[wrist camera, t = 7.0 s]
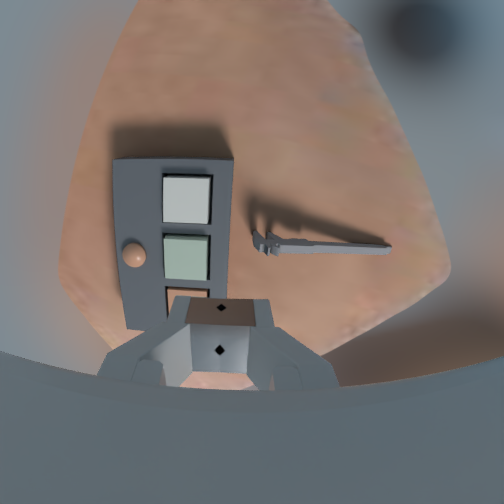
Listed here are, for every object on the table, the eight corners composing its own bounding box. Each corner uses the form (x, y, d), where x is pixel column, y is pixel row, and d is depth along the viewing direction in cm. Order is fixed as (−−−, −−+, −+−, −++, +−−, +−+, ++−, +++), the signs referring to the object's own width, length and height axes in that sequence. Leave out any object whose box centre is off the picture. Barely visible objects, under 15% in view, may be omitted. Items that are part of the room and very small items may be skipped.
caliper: (251, 237, 40) (254, 255, 34) (252, 229, 39) (256, 246, 34) (388, 252, 42) (409, 269, 36) (390, 245, 41) (411, 262, 35)
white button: (169, 174, 34) (163, 177, 31) (211, 175, 34) (208, 179, 31) (168, 215, 36) (163, 222, 33) (209, 216, 36) (207, 223, 33)
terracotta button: (171, 278, 40) (167, 289, 37) (208, 280, 40) (206, 291, 37) (173, 310, 42) (169, 322, 39) (208, 312, 42) (206, 324, 39)
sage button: (168, 230, 36) (163, 238, 34) (208, 232, 37) (206, 240, 34) (169, 267, 38) (165, 278, 35) (208, 270, 39) (206, 280, 36)
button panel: (124, 157, 35) (110, 160, 30) (233, 158, 36) (233, 161, 31) (134, 313, 43) (125, 331, 39) (225, 320, 44) (225, 339, 40)
